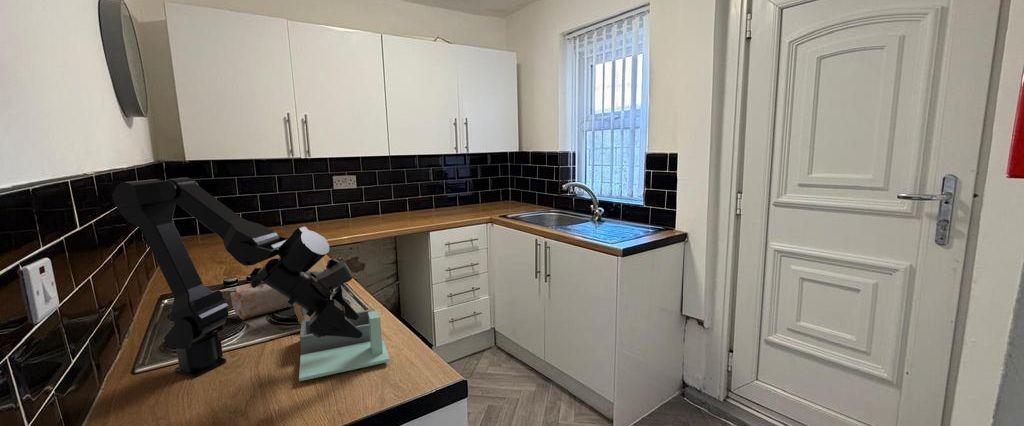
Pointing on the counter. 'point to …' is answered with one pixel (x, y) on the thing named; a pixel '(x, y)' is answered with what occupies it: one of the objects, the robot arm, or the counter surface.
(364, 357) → the lid
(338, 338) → the box
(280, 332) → the counter surface
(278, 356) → the counter surface
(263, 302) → the food item
